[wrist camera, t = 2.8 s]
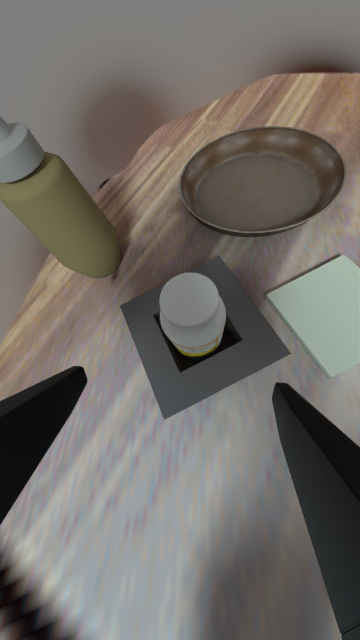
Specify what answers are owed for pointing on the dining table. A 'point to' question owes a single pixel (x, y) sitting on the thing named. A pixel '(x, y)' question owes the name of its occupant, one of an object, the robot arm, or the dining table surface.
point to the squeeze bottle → (54, 204)
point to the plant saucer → (262, 180)
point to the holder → (215, 372)
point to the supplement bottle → (192, 315)
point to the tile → (324, 313)
